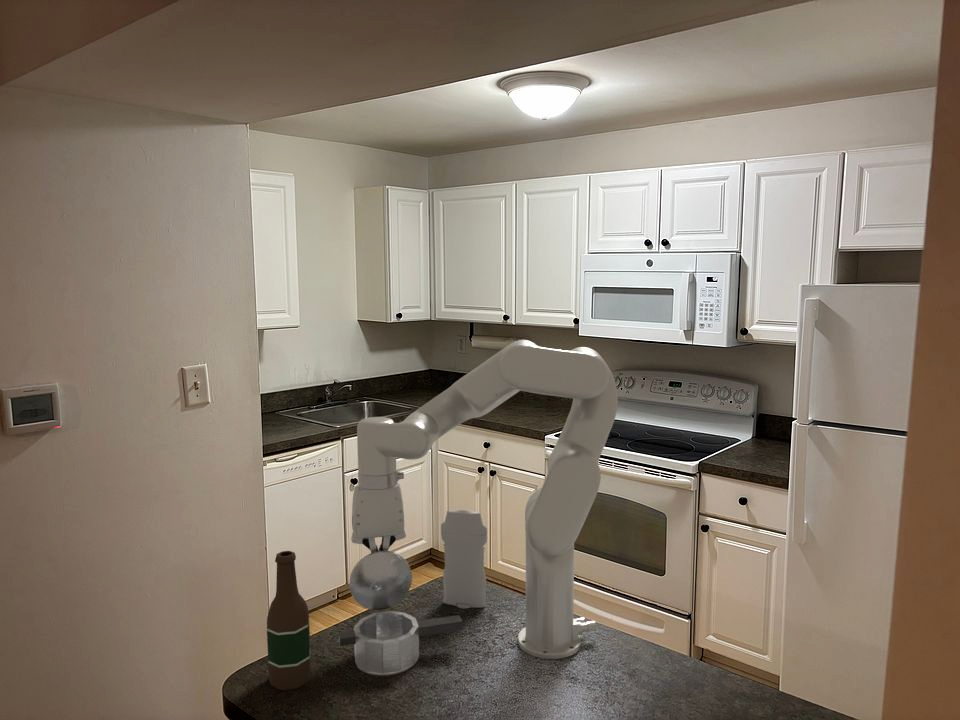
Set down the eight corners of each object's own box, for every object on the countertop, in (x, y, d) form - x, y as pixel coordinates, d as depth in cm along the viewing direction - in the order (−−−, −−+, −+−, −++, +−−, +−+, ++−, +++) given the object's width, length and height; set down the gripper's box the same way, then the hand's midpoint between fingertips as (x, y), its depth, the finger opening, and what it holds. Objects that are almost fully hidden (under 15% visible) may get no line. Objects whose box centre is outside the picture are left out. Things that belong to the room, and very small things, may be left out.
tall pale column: (489, 602, 156) (489, 508, 154) (485, 611, 152) (485, 514, 150) (444, 598, 159) (443, 505, 156) (439, 606, 155) (437, 511, 152)
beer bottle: (300, 694, 122) (295, 563, 119) (260, 689, 124) (254, 560, 121) (319, 669, 130) (314, 546, 127) (281, 665, 131) (275, 543, 129)
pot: (453, 629, 144) (452, 600, 143) (469, 662, 132) (468, 630, 131) (337, 647, 138) (336, 616, 137) (342, 683, 125) (341, 649, 125)
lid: (412, 605, 140) (409, 598, 143) (411, 548, 138) (409, 543, 141) (350, 614, 137) (349, 607, 140) (348, 556, 135) (347, 549, 137)
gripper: (411, 472, 143) (413, 557, 145) (337, 477, 139) (340, 565, 141) (418, 482, 135) (419, 572, 138) (340, 488, 132) (342, 580, 134)
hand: (379, 568), depth 139 cm, fingers closed
